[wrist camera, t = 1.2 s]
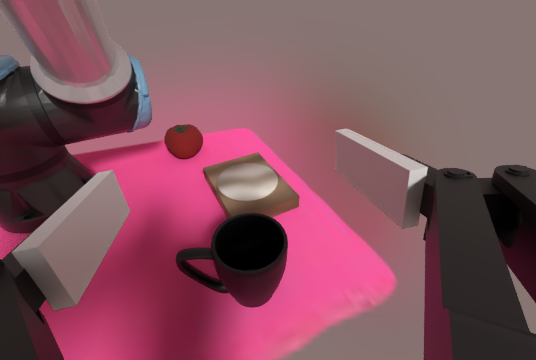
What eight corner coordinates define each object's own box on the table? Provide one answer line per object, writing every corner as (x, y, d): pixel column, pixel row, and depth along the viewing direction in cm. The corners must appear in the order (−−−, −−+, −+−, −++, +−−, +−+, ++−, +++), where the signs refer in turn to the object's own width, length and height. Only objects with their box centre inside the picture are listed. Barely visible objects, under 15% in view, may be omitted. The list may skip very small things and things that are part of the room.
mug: (194, 266, 35) (179, 219, 29) (278, 255, 36) (280, 208, 31) (187, 329, 29) (166, 285, 23) (290, 313, 30) (295, 268, 24)
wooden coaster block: (205, 177, 51) (202, 166, 49) (258, 162, 56) (257, 151, 54) (235, 231, 40) (233, 219, 38) (298, 206, 44) (299, 194, 43)
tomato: (187, 166, 55) (180, 136, 50) (161, 156, 58) (152, 128, 53) (211, 149, 60) (206, 121, 56) (186, 141, 63) (179, 114, 59)
